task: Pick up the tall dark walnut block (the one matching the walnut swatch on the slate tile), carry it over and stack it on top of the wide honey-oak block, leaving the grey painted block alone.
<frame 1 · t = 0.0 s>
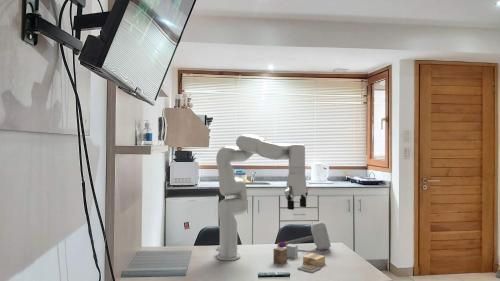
hand: (297, 208, 166), 31 cm above the table, tool pointing down, fingers open, 9 cm apart
walnut block: (280, 262, 187), on the table
grey block: (291, 256, 198), on the table
oak base: (314, 264, 185), on the table
hammer: (303, 249, 213), on the table
swatch tile: (309, 269, 176), on the table
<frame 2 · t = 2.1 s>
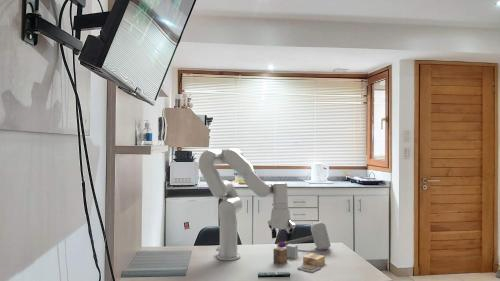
hand: (281, 239, 187), 12 cm above the table, tool pointing down, fingers open, 9 cm apart
nothing on the table moved.
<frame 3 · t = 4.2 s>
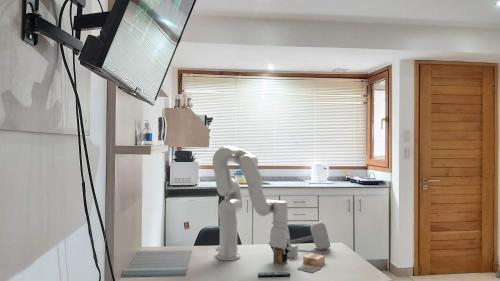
hand: (280, 259, 187), 1 cm above the table, tool pointing down, fingers closed on walnut block, 5 cm apart
walnut block: (280, 262, 187), on the table, touching gripper
everything else where it was.
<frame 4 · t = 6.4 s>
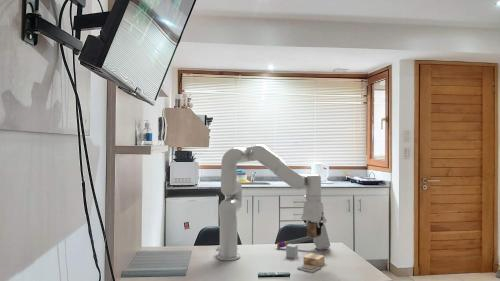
hand: (313, 233, 185), 15 cm above the table, tool pointing down, fingers closed on walnut block, 5 cm apart
walnut block: (313, 236, 185), point 14 cm above the table, touching gripper
everything else where it was.
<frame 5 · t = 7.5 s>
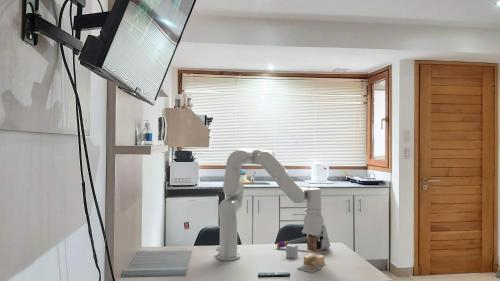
hand: (314, 247, 185), 8 cm above the table, tool pointing down, fingers closed on walnut block, 5 cm apart
walnut block: (314, 249, 185), point 7 cm above the table, touching gripper
everything else where it was.
when the fingers open (6 cm above the table, at t = 8.7 s): walnut block drops 1 cm, resting on oak base.
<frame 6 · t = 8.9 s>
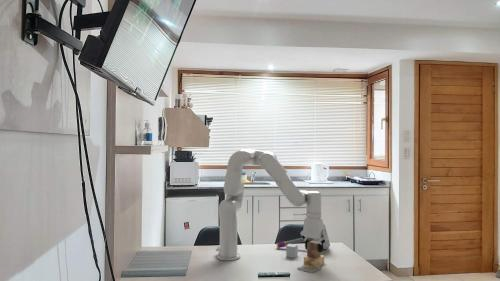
hand: (314, 250, 185), 7 cm above the table, tool pointing down, fingers open, 7 cm apart
walnut block: (313, 256, 185), point 4 cm above the table, touching oak base
oak base: (314, 264, 185), on the table, touching walnut block
everything else where it was.
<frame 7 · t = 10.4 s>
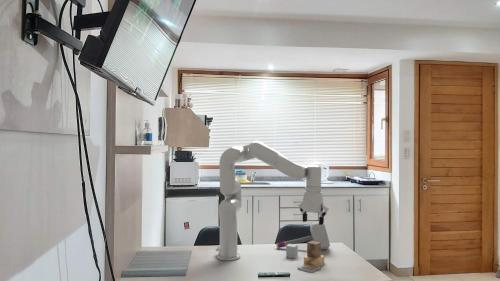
hand: (312, 223, 186), 21 cm above the table, tool pointing down, fingers open, 9 cm apart
nothing on the table moved.
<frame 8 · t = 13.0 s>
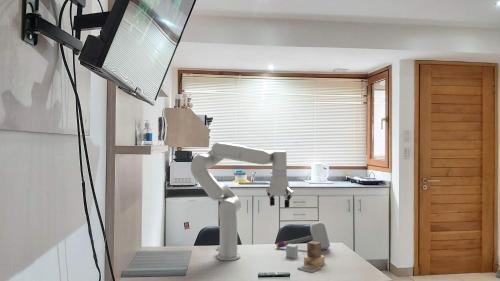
hand: (279, 206, 191), 28 cm above the table, tool pointing down, fingers open, 9 cm apart
walnut block: (314, 256, 185), point 4 cm above the table
oak base: (314, 264, 185), on the table
everything else where it was.
at the end: walnut block 0.0 cm off-centre on the oak base, point 4.0 cm above the oak base's base; walnut block tilted 1°; the gripper is holding nothing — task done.
